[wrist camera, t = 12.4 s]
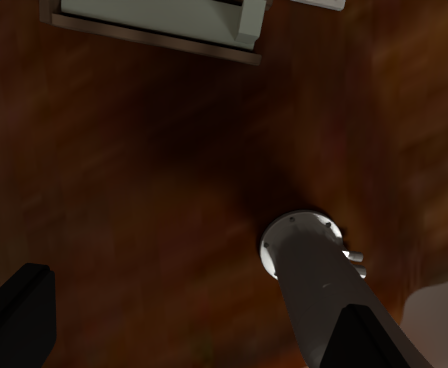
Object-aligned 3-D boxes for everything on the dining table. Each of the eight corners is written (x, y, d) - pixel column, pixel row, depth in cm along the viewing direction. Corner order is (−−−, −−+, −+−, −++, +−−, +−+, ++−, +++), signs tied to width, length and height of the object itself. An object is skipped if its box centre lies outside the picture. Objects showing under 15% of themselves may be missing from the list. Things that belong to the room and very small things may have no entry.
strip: (258, 13, 32) (270, -5, 26) (251, 50, 34) (260, 42, 27) (66, -28, 31) (24, -59, 24) (66, 13, 32) (26, -5, 25)
